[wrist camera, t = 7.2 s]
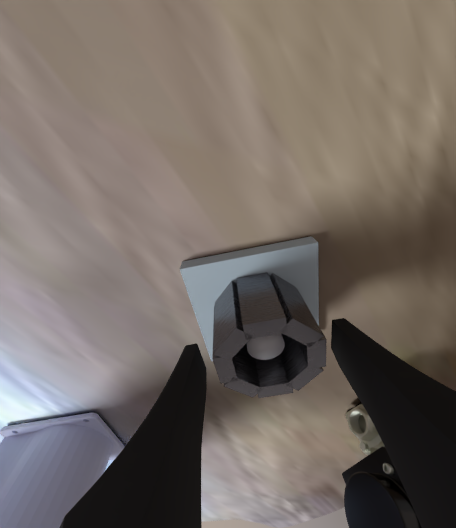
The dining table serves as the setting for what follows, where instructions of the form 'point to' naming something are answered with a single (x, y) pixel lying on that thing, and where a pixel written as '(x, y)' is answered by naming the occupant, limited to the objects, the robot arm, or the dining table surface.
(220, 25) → the dining table surface
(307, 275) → the square plate with peg
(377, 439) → the pneumatic valve
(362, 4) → the dining table surface
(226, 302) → the ring
